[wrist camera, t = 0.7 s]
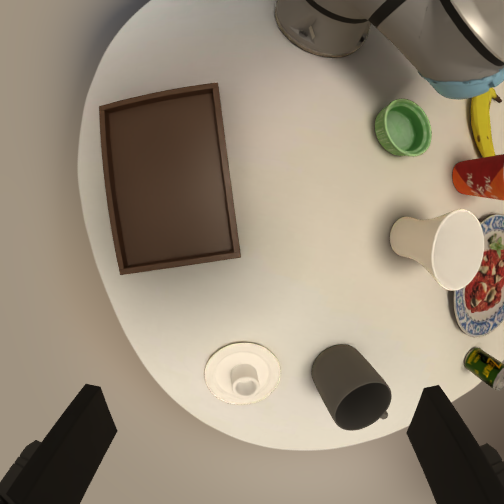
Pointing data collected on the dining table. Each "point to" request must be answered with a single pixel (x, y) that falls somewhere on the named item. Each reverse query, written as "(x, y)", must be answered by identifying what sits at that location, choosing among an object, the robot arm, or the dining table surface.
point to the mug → (350, 387)
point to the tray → (168, 179)
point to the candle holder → (242, 373)
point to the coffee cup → (480, 177)
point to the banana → (483, 122)
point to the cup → (442, 246)
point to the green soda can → (485, 368)
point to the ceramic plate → (484, 285)
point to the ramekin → (403, 128)
